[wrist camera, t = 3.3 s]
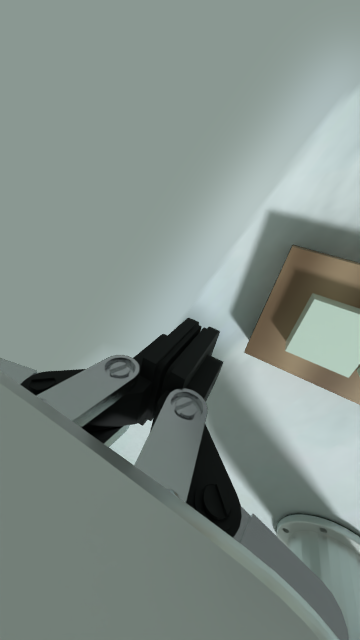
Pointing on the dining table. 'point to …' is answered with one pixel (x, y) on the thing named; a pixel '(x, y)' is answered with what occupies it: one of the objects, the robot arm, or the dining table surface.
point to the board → (287, 305)
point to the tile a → (327, 335)
